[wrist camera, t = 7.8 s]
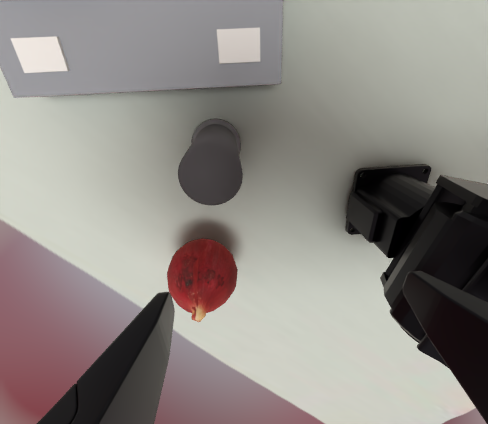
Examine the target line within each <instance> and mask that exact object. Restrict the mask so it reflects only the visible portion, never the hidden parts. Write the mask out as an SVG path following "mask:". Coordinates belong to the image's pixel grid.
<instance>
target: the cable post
mask: <svg viewBox="0 0 488 424" xmlns="http://www.w3.org/2000/svg"><path fill="white" fill-rule="evenodd" d="M240 148H241V143H240V138H239V135H238V133H237V131H236V129H235V128H234V127H233V126H232V125H231V124H230V123H228V122H226V121H224V120H221V119H210V120H207V121H205V122H203V123H202V124H200V125H199V126H198V127H197V129H196V130H195V132H194V134H193V137H192V143H191V146H190V147H189V149H188V150H187V152H186V153H185V155H184V157H183V158H182V160H181V162H180V165H179V169H178V177H179V182H180V185H181V187H182V189H183V190H184V192H185V193H186V194H187V195H188V196H189V197H190V198H191V199H193V200H194V201H196V202H198V203H201V204H205V205H219V204H222V203H225V202H227V201H229V200H230V199H232V198H233V197H234V196H235V195H236V193H237V192H238V190H239V189H240V186H241V183H242V175H243V174H242V168H241V163H240V157H239V153H240Z"/></svg>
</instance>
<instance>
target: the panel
mask: <svg viewBox="0 0 488 424" xmlns="http://www.w3.org/2000/svg"><path fill="white" fill-rule="evenodd" d="M282 25H283V0H0V68H1V70H2V72H3V74H4V77H5V79H6V81H7V83H8V86H9V88H10V90H11V92H12V95H13V97H14V98H18V97H46V96H65V95H84V94H103V93H123V92H142V91H161V90H180V89H199V88H218V87H237V86H256V85H274V84H281V72H282Z"/></svg>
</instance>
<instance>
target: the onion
mask: <svg viewBox="0 0 488 424" xmlns="http://www.w3.org/2000/svg"><path fill="white" fill-rule="evenodd" d="M167 278H168V288H169V292H170V294H171V296H172V297H173V299H174V300H175V301H176V303H177V304H178V305H179V306H180V307H181V308H183V309H184V310H186V311H187V312H190V313H192V320H194V321H197V322H200V321H201V320H202V319H203V318H204V317H205V316H206V313H208V312H211V311H214V310H215V309H217V308H218V307H220V306H221V305H223V304H224V303H225V302H226V301H227V300H228V298H229V297H230V295H231V294H232V293H233V291H234V289H235V287H236V280H237V267H236V264H235V261H234V258H233V255H232V254H231V253H230V252H229V251H228V250H227V248H226V247H225V246H223V245H222V244H220V243H218V242H216V241H214V240H210V239H202V238H201V239H197V240H193V241H190V242H188V243H186V244H185V245H183V246H182V247H181V248H180V249H179V250H177V251H176V253H175V254H174V256H173V258H172V260H171V263H170V265H169V268H168V272H167Z"/></svg>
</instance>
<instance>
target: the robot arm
mask: <svg viewBox="0 0 488 424" xmlns="http://www.w3.org/2000/svg"><path fill="white" fill-rule="evenodd" d="M424 169H425V170H424ZM423 170H424V172H422V171H423ZM430 172H431V167H430V166H428V165H424V164H422V165H407V166H391V167H376V168H362V169H359V170H357V172H356V173H355V178H354V184H353V190H352V193H351V194H350V198H349V204H348V210H347V216H346V218H347V224H346V231H347V232H348V234H351V235H353V234H362V235H363V236H364V237H365V239H366V240H367V241H368V242H370V243H374V244H375V245H376V246H377V247H378V248H379V249H380V250H381V251H382V252H383V253H384V254H385V255H386V256H387V257H388V258H393V260H392V262H391V264H390V265H389V267H388V269H387V270H386V272H383V274H382V276H381V277H380V279H381V281H382V284H383V287H384V295H385V297H386V299H387V301H388V303H389V305H390V307H391V310H390V314H391V315H392V317H393V318H394V319H395V321H396V322H397V323H398V324H399V325H400V326H401V328H402V329H403V330H404V331H405V332H406V333H407V334H408V335H409V336H410V337H412V338H413V339H414V340H415V341H417V342H418V343H419V344H418V345H417V348H418V349H419V350H420V351H421V352H423V353H425V354H427V355H428V356H430V357H432V358H434V359H436V360H438V361H439V362H441V363H442V364H444V365H445V366H447V367H448V368H449V369H450V370H451V371H452V373H453V374H454V376H455V377H456V379H457V380H458V382H459V383H460V385H461V386H462V388H463V389H464V391H465V392H466V394H467V395H468V397H469V398H470V399H471V401H472V402H473V404H474V405H475V407H476V408H477V410H478V411H479V413H480V414H481V416H482V417H483V418H484V420H485V421H486V423H487V424H488V184H484V183H479V182H474V181H469V180H464V179H458V178H453V177H448V176H443V175H440V177H439V179H438V180H437V182H436V183H437V186H436V187H433V186H431V185H429V184H427V181H428V178H429V175H430ZM362 173H364V174H363V176H361V177H360V175H361V174H362ZM352 228H353V229H352ZM351 229H352V230H351ZM173 321H174V305H173V301H172V297H171V294H170V293H169V292H162V293H158V294H157V295H156V296H155V297H154V298H153V299H152V300H151V301H150V302H149V303H148V304H147V306H146V307H145V308H144V309H143V310H142V311H141V312H140V313H139V314H138V315H137V316H136V317H135V319H134V320H133V321H132V322H131V323H130V324H129V325H128V326H127V327H126V328H125V330H124V331H123V332H122V333H121V334H120V335H119V336H118V337H117V338H116V339H115V341H113V343H112V344H111V345H110V346H109V347H108V348H107V349H106V350H105V352H103V353H102V355H101V356H100V357H99V358H98V359H97V360H96V361H95V362H94V363H93V364H92V365H91V367H90V368H89V369H88V370H87V371H86V372H85V373H84V374H83V375H82V376H81V377H80V378H79V380H78V381H77V384H74V385H73V386H72V387H71V388H70V389H69V390H68V391H67V392H66V394H65V395H64V396H63V397H62V398H61V399H60V400H59V401H58V402H57V403H56V404H55V405H54V406H53V407H52V408H51V410H50V411H49V412H48V413H47V414H46V415H45V416H44V417H43V418H42V419H41V420H40V421H39V422H38V423H37V424H154V421H155V417H156V413H157V408H158V404H159V399H160V395H161V390H162V387H163V382H164V378H165V373H166V369H167V365H168V360H169V354H170V346H171V338H172V330H173Z"/></svg>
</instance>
